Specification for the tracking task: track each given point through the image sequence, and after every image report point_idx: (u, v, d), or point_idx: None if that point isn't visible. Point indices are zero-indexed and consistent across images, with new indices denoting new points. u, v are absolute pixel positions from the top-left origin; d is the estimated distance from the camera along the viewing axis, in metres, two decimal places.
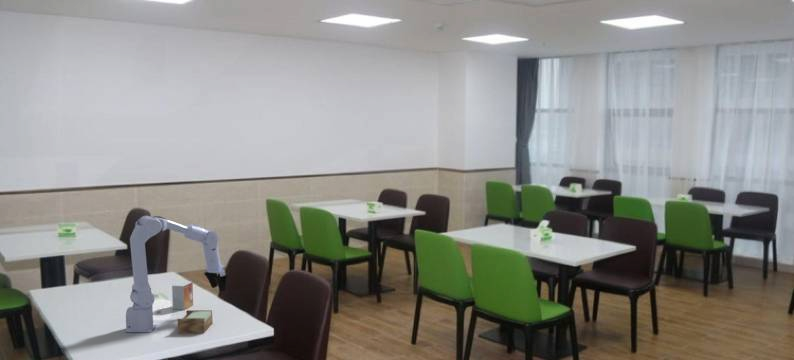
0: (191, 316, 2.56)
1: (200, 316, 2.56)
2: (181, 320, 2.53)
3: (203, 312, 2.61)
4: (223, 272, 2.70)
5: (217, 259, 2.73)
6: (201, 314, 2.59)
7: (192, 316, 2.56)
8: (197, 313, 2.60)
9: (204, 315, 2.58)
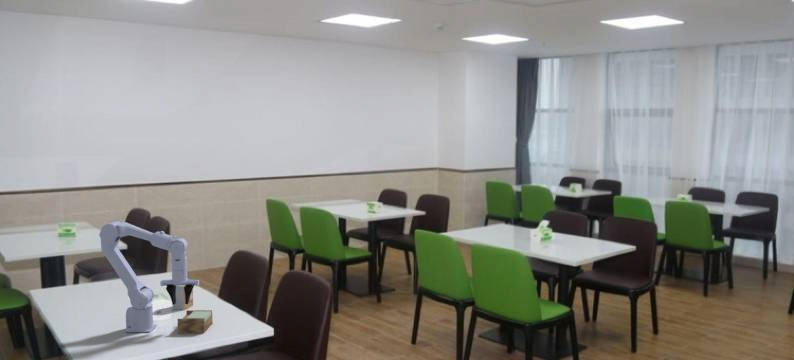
0: (191, 316, 2.56)
1: (200, 316, 2.56)
2: (181, 320, 2.53)
3: (203, 312, 2.61)
4: (198, 281, 2.58)
5: None
6: (201, 314, 2.59)
7: (192, 316, 2.56)
8: (197, 313, 2.60)
9: (204, 315, 2.58)
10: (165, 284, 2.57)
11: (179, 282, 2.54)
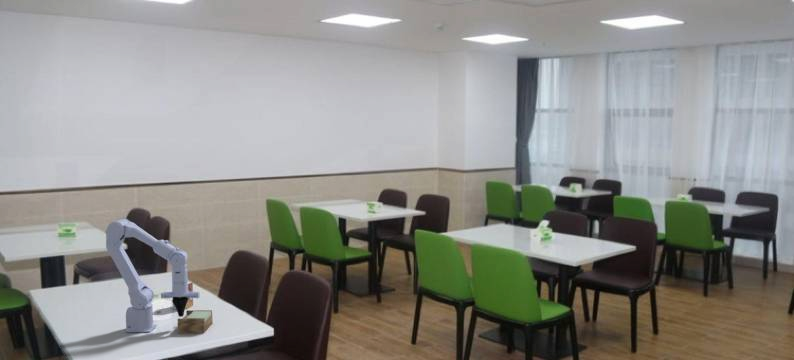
0: (191, 316, 2.56)
1: (200, 316, 2.56)
2: (181, 320, 2.53)
3: (203, 312, 2.61)
4: (199, 294, 2.58)
5: (187, 282, 2.58)
6: (201, 314, 2.59)
7: (192, 316, 2.56)
8: (197, 313, 2.60)
9: (204, 315, 2.58)
10: (166, 296, 2.58)
11: (179, 294, 2.55)
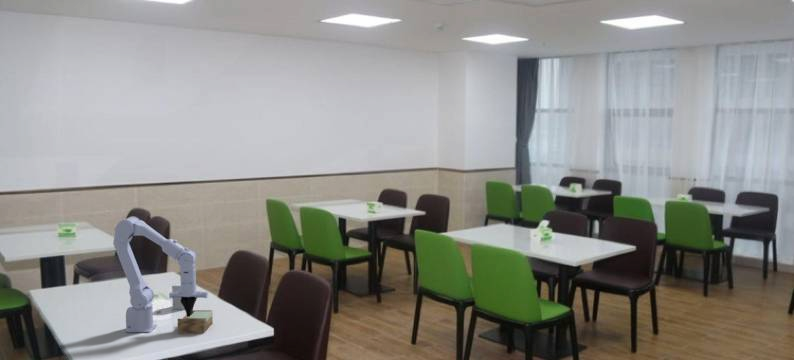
0: (192, 316, 2.56)
1: (201, 316, 2.56)
2: (181, 320, 2.53)
3: (204, 312, 2.61)
4: (207, 293, 2.58)
5: (195, 281, 2.58)
6: (202, 314, 2.59)
7: (193, 316, 2.56)
8: (198, 313, 2.60)
9: (205, 315, 2.57)
10: (174, 296, 2.58)
11: (188, 294, 2.55)
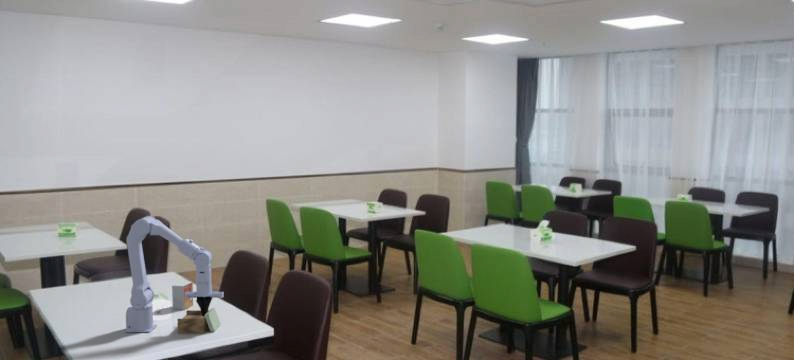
0: (210, 315, 2.56)
1: (213, 324, 2.56)
2: (181, 320, 2.53)
3: (217, 319, 2.62)
4: (223, 293, 2.58)
5: None
6: (215, 320, 2.59)
7: (211, 316, 2.56)
8: (214, 315, 2.60)
9: (215, 325, 2.58)
10: (189, 296, 2.58)
11: (204, 294, 2.55)
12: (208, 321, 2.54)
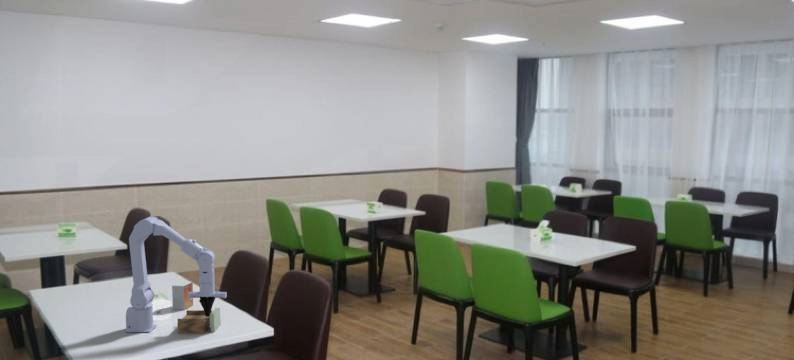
0: (215, 316, 2.56)
1: (215, 325, 2.56)
2: (181, 320, 2.53)
3: (219, 319, 2.62)
4: (226, 293, 2.58)
5: (214, 281, 2.58)
6: (217, 321, 2.59)
7: (215, 317, 2.56)
8: (218, 315, 2.60)
9: (216, 326, 2.58)
10: (192, 296, 2.58)
11: (207, 294, 2.55)
12: (211, 321, 2.54)
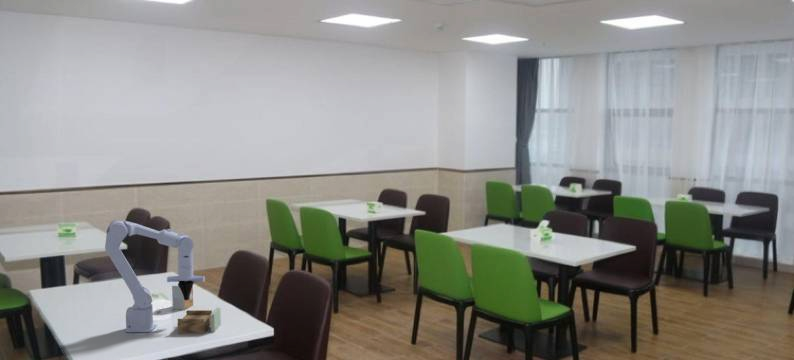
0: (215, 316, 2.56)
1: (215, 325, 2.56)
2: (181, 320, 2.53)
3: (219, 319, 2.62)
4: (204, 277, 2.64)
5: None
6: (217, 321, 2.59)
7: (215, 317, 2.56)
8: (218, 316, 2.60)
9: (216, 326, 2.58)
10: (171, 280, 2.63)
11: (185, 278, 2.60)
12: (212, 321, 2.54)
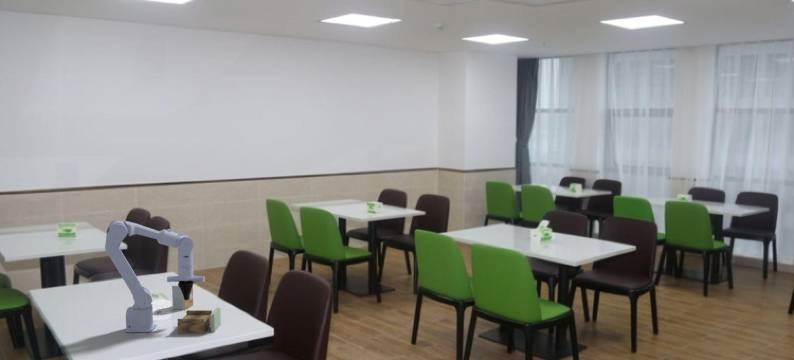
0: (215, 316, 2.56)
1: (215, 325, 2.56)
2: (181, 320, 2.53)
3: (219, 319, 2.62)
4: (204, 277, 2.64)
5: None
6: (217, 321, 2.59)
7: (215, 317, 2.56)
8: (218, 316, 2.60)
9: (216, 326, 2.58)
10: (171, 280, 2.63)
11: (185, 278, 2.60)
12: (212, 321, 2.54)
